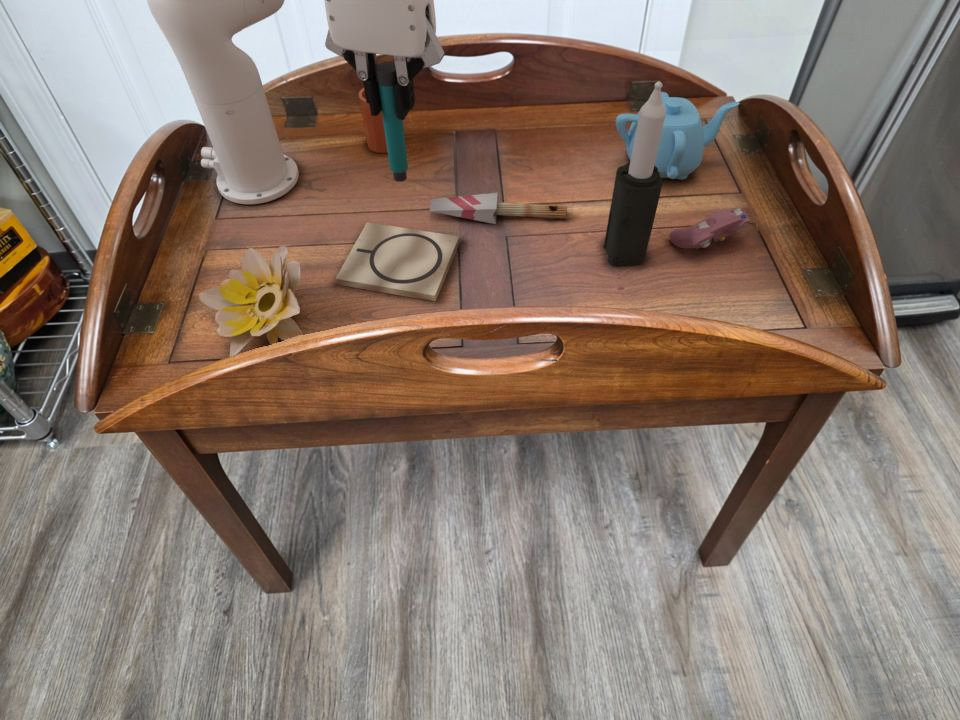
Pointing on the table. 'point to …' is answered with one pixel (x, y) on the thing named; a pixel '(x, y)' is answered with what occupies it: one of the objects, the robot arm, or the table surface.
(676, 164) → the teapot
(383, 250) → the sketch board
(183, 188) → the table surface
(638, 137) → the candle
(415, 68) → the robot arm
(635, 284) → the table surface
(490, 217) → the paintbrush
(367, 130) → the pen cup
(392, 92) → the marker
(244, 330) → the decorative flower
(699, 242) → the purple toy car
